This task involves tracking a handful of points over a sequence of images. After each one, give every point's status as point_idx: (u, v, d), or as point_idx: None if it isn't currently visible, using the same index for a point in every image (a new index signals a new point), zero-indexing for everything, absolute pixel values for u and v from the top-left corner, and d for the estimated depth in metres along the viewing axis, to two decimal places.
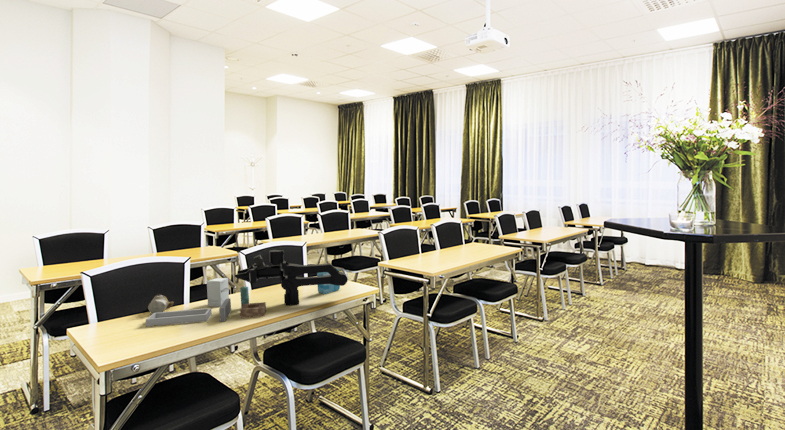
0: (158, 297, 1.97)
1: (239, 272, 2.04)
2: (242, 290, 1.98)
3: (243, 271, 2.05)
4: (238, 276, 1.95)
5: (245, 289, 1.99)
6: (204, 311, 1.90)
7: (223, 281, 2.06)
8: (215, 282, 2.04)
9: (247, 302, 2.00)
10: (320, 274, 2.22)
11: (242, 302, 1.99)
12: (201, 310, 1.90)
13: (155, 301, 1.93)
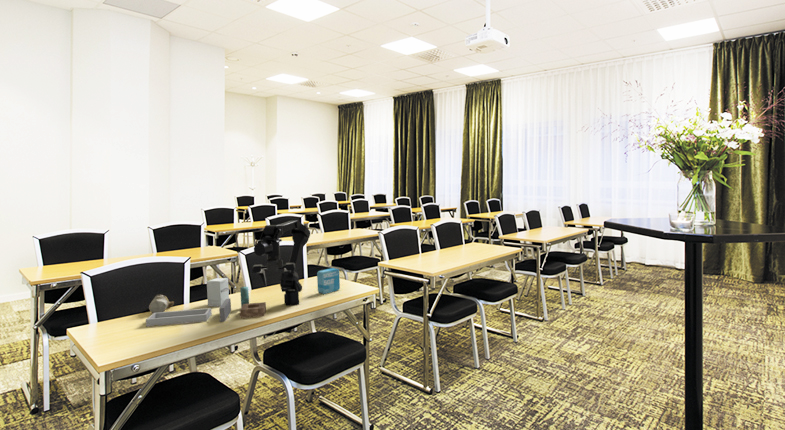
0: (158, 297, 1.98)
1: None
2: (242, 290, 1.98)
3: (265, 281, 1.91)
4: (285, 281, 1.93)
5: (245, 289, 1.99)
6: (204, 311, 1.90)
7: (223, 281, 2.06)
8: (215, 282, 2.04)
9: (247, 302, 2.00)
10: (320, 274, 2.22)
11: (242, 302, 1.99)
12: (201, 310, 1.90)
13: (156, 301, 1.93)
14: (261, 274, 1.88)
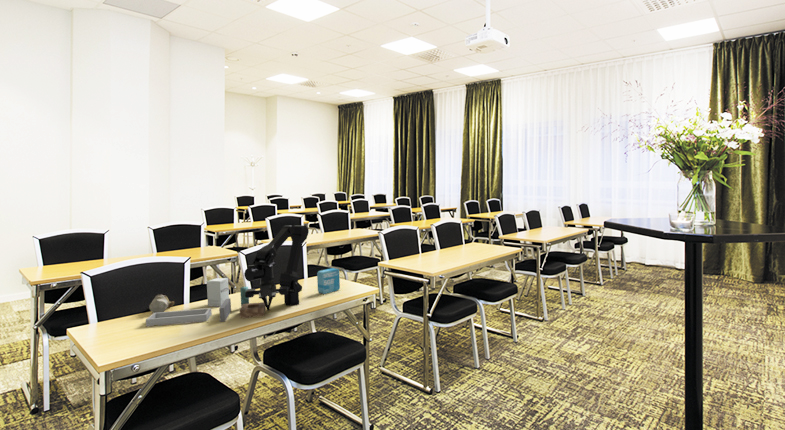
0: (159, 297, 1.98)
1: None
2: (242, 290, 1.98)
3: None
4: None
5: (245, 289, 1.99)
6: (204, 311, 1.90)
7: (223, 281, 2.06)
8: (215, 282, 2.04)
9: (247, 302, 2.00)
10: (320, 274, 2.22)
11: (242, 302, 1.99)
12: (201, 310, 1.90)
13: (157, 301, 1.93)
14: (263, 298, 1.89)
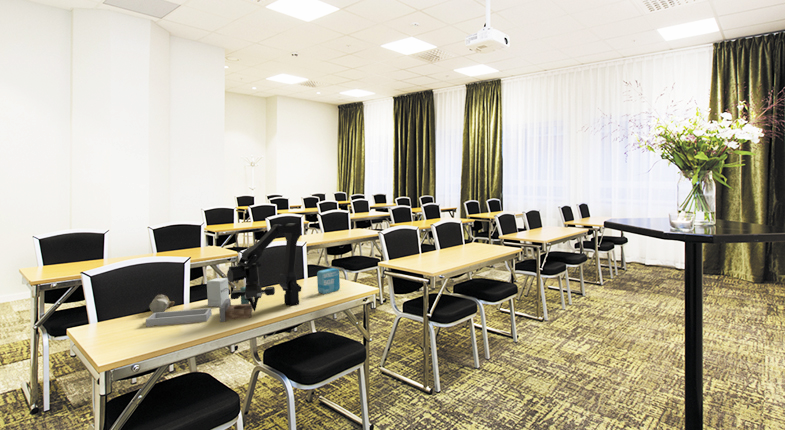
0: (159, 296, 1.98)
1: None
2: (242, 290, 1.98)
3: None
4: None
5: None
6: (204, 311, 1.90)
7: (223, 281, 2.06)
8: (215, 282, 2.04)
9: (247, 302, 2.00)
10: (320, 274, 2.22)
11: (242, 302, 1.99)
12: (201, 310, 1.90)
13: (157, 300, 1.94)
14: (249, 299, 1.88)
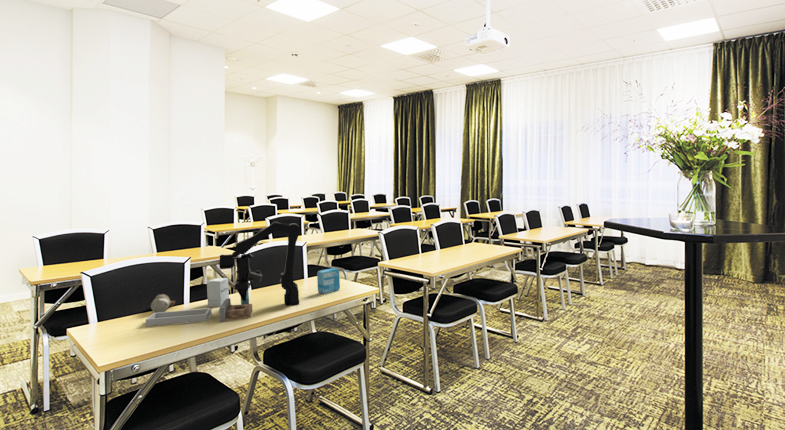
0: (160, 296, 1.99)
1: None
2: None
3: None
4: None
5: None
6: (204, 311, 1.90)
7: (223, 281, 2.06)
8: (215, 282, 2.04)
9: (247, 302, 2.00)
10: (320, 274, 2.22)
11: (242, 302, 1.99)
12: (201, 310, 1.90)
13: (158, 300, 1.94)
14: (248, 288, 1.97)
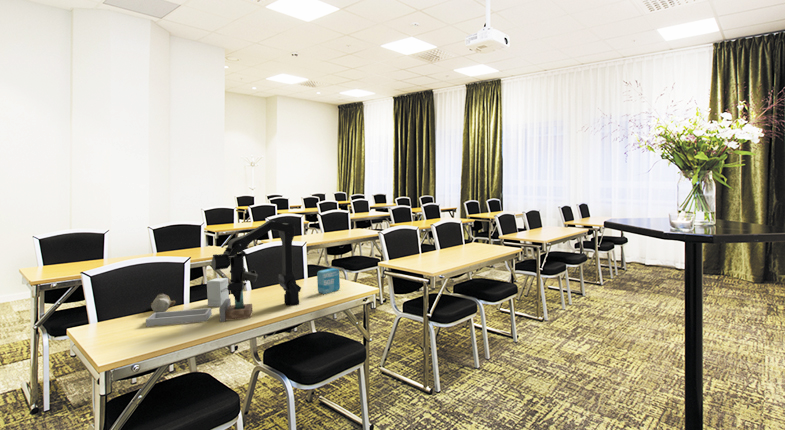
0: (160, 296, 1.99)
1: None
2: None
3: None
4: None
5: None
6: (204, 311, 1.90)
7: (223, 281, 2.06)
8: (215, 282, 2.04)
9: (241, 303, 1.88)
10: (320, 274, 2.22)
11: (236, 303, 1.88)
12: (201, 310, 1.90)
13: (159, 300, 1.95)
14: (243, 288, 1.86)
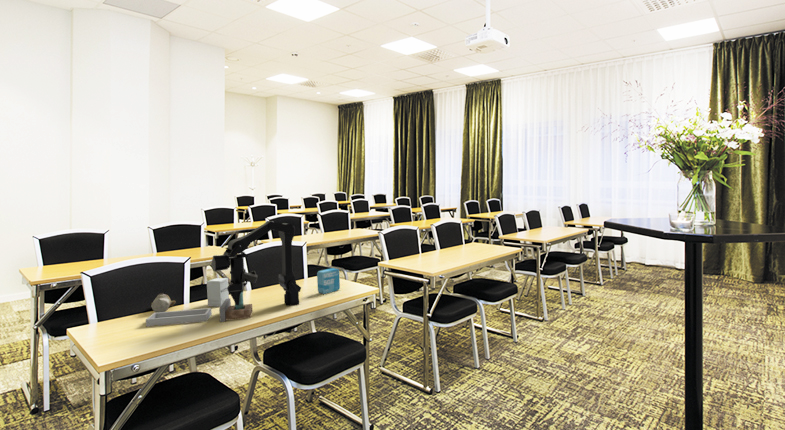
0: (161, 296, 1.99)
1: None
2: None
3: None
4: None
5: None
6: (204, 311, 1.90)
7: (223, 281, 2.06)
8: (215, 282, 2.04)
9: (241, 308, 1.88)
10: (320, 274, 2.22)
11: (236, 308, 1.88)
12: (201, 310, 1.90)
13: (159, 300, 1.95)
14: None
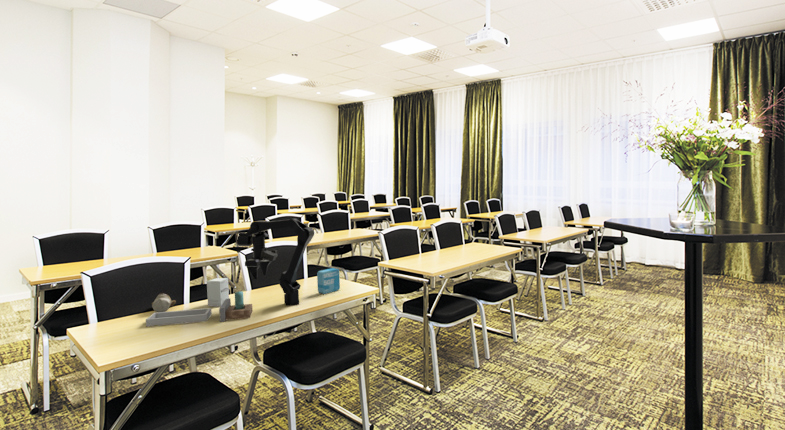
0: (161, 296, 2.00)
1: None
2: (236, 295, 1.87)
3: None
4: None
5: (239, 294, 1.87)
6: (204, 311, 1.90)
7: (223, 281, 2.06)
8: (215, 282, 2.04)
9: (241, 308, 1.88)
10: (320, 274, 2.22)
11: (236, 308, 1.87)
12: (201, 310, 1.90)
13: (160, 300, 1.95)
14: (258, 267, 2.01)
